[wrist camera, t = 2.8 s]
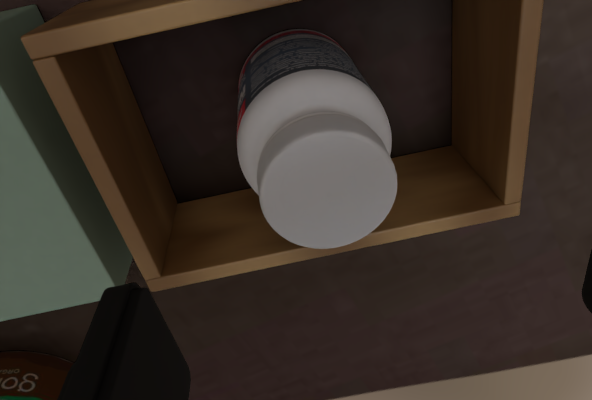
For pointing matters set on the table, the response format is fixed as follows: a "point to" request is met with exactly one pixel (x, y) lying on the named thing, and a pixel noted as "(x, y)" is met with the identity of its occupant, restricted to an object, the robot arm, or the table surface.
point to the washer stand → (46, 195)
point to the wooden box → (245, 203)
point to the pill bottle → (314, 141)
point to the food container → (31, 375)
